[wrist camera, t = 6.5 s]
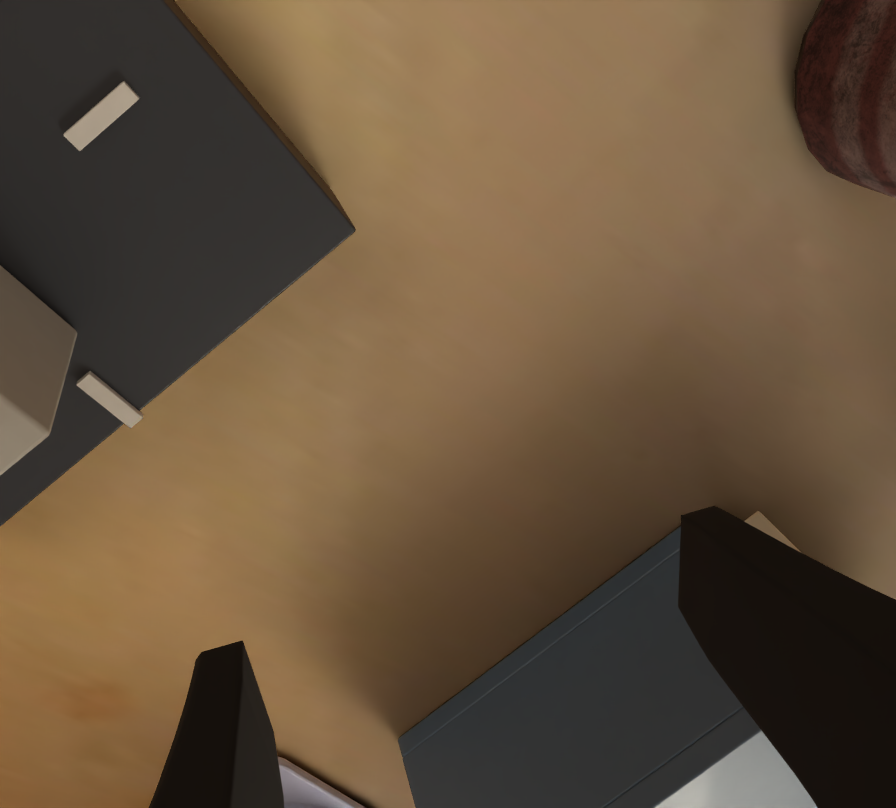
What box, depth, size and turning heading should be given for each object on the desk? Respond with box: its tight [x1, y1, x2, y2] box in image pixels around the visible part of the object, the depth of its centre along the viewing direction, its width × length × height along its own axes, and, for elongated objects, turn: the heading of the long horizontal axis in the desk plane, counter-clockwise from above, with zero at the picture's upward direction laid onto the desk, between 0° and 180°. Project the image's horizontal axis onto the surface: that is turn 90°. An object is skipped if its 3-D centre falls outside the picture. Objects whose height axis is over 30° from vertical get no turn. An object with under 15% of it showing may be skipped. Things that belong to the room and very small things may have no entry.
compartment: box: [398, 526, 817, 808], centre depth 28 cm, size 13×12×7 cm
